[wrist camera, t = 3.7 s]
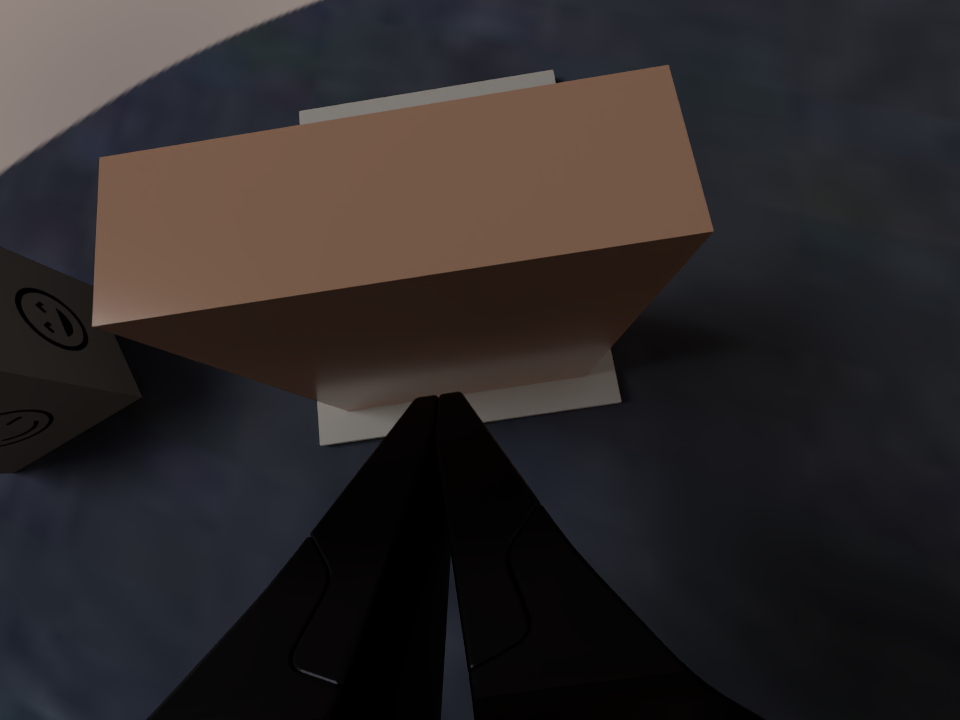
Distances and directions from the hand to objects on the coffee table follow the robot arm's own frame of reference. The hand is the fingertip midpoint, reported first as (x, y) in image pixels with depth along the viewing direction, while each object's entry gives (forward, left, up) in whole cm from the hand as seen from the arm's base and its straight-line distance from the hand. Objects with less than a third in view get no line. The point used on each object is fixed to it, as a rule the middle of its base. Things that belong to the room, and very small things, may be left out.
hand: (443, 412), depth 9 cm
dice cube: (-8, +13, -8) cm, 17 cm away
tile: (+2, +2, -7) cm, 7 cm away
